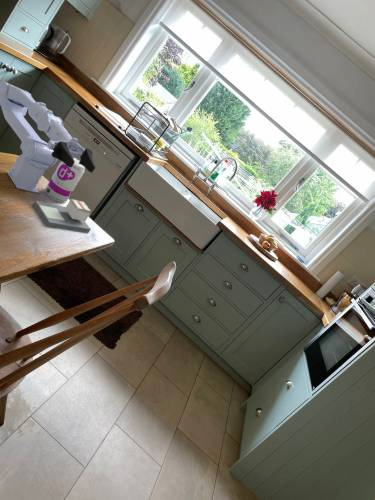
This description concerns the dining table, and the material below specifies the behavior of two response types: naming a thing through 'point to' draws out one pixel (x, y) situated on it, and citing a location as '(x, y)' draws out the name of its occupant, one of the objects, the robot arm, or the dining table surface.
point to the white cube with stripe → (78, 210)
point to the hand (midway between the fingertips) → (82, 167)
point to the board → (59, 217)
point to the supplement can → (64, 181)
